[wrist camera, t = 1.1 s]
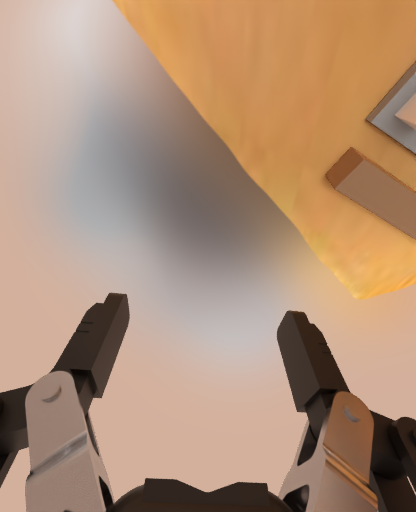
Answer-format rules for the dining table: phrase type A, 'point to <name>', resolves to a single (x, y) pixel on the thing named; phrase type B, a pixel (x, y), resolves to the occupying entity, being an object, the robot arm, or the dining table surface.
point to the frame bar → (375, 190)
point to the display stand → (399, 111)
